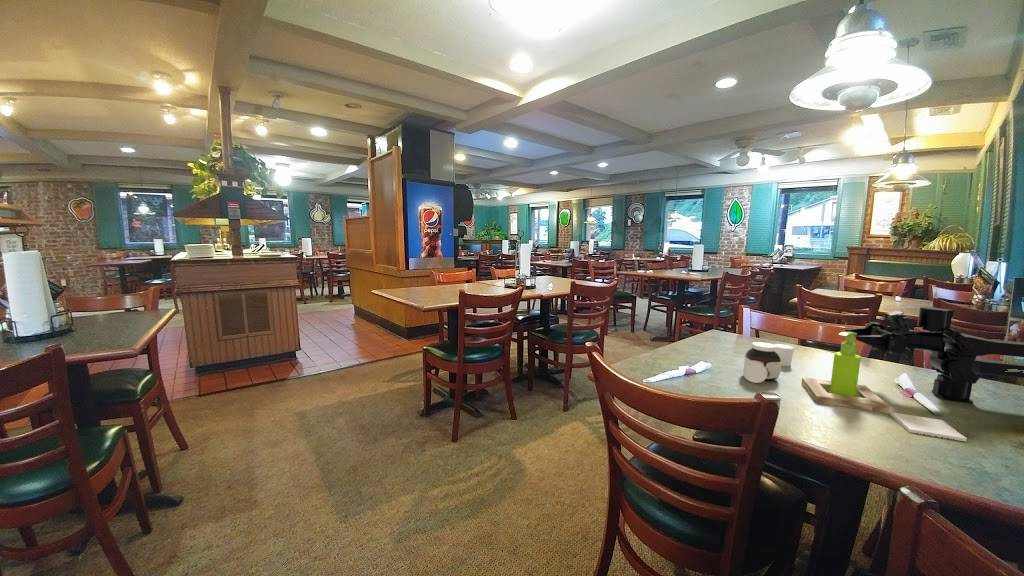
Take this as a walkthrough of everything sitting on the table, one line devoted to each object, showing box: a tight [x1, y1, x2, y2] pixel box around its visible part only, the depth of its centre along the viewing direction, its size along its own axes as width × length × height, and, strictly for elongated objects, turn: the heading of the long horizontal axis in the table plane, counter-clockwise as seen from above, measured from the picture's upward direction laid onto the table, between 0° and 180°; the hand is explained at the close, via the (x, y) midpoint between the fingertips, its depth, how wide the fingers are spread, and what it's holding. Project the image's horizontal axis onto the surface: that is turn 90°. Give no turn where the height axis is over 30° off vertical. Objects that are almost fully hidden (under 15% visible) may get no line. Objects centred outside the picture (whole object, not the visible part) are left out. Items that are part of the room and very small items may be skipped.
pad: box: [889, 411, 968, 442], centre depth 96 cm, size 10×10×1 cm
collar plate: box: [801, 376, 891, 414], centre depth 114 cm, size 16×16×2 cm
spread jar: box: [742, 341, 782, 384], centre depth 127 cm, size 12×11×12 cm
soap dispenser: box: [829, 331, 862, 397], centre depth 112 cm, size 6×7×20 cm
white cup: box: [773, 343, 795, 367], centre depth 143 cm, size 7×7×7 cm
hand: (850, 334), depth 122 cm, fingers open, 9 cm apart
